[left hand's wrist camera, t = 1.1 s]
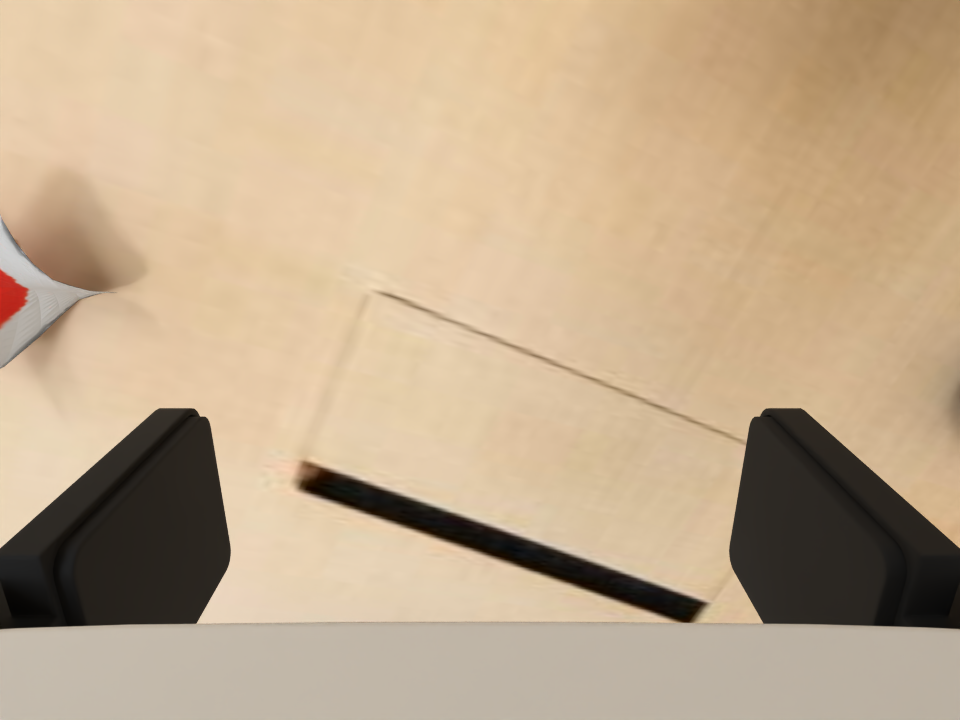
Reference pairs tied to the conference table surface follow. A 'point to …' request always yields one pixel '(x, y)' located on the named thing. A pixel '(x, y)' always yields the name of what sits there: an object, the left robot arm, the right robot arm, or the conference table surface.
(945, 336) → the conference table surface
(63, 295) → the fish
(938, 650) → the left robot arm
